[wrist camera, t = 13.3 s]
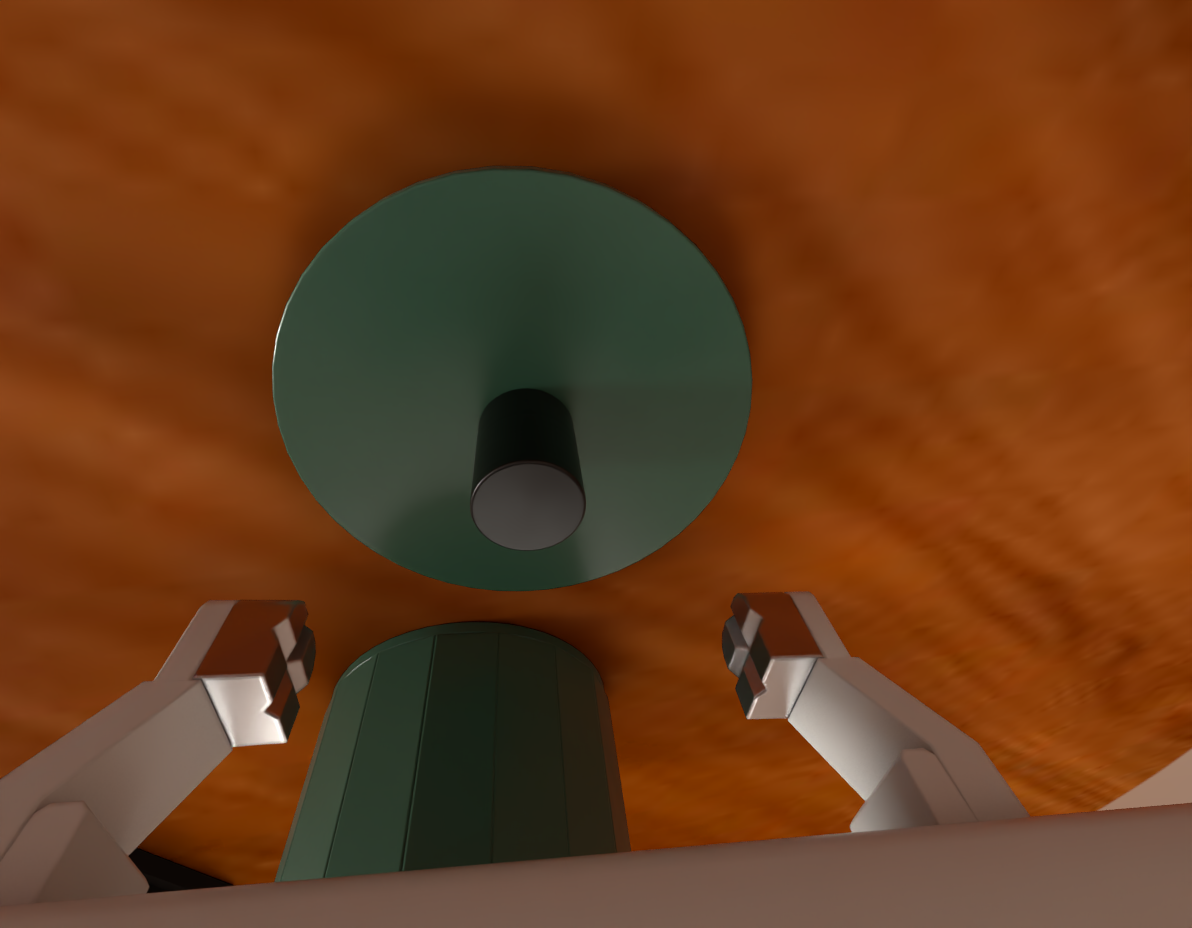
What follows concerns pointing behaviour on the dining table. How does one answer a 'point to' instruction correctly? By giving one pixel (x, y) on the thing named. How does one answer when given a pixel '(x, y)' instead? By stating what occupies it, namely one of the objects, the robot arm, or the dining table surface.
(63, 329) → the dining table surface
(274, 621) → the robot arm
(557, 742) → the green hollow cylinder
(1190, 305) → the dining table surface
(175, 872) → the chess piece
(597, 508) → the lid
